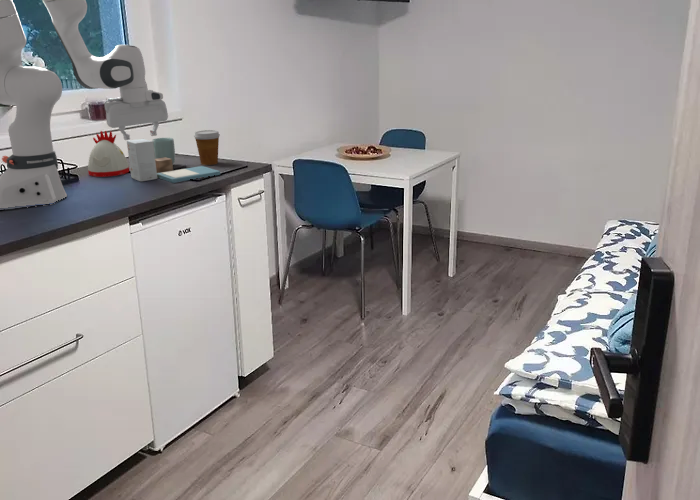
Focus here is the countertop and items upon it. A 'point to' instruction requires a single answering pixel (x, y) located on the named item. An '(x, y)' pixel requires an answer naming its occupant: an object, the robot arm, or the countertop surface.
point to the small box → (142, 159)
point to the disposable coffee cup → (207, 146)
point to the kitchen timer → (107, 158)
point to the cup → (164, 148)
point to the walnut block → (163, 165)
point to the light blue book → (187, 174)
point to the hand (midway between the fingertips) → (140, 137)
